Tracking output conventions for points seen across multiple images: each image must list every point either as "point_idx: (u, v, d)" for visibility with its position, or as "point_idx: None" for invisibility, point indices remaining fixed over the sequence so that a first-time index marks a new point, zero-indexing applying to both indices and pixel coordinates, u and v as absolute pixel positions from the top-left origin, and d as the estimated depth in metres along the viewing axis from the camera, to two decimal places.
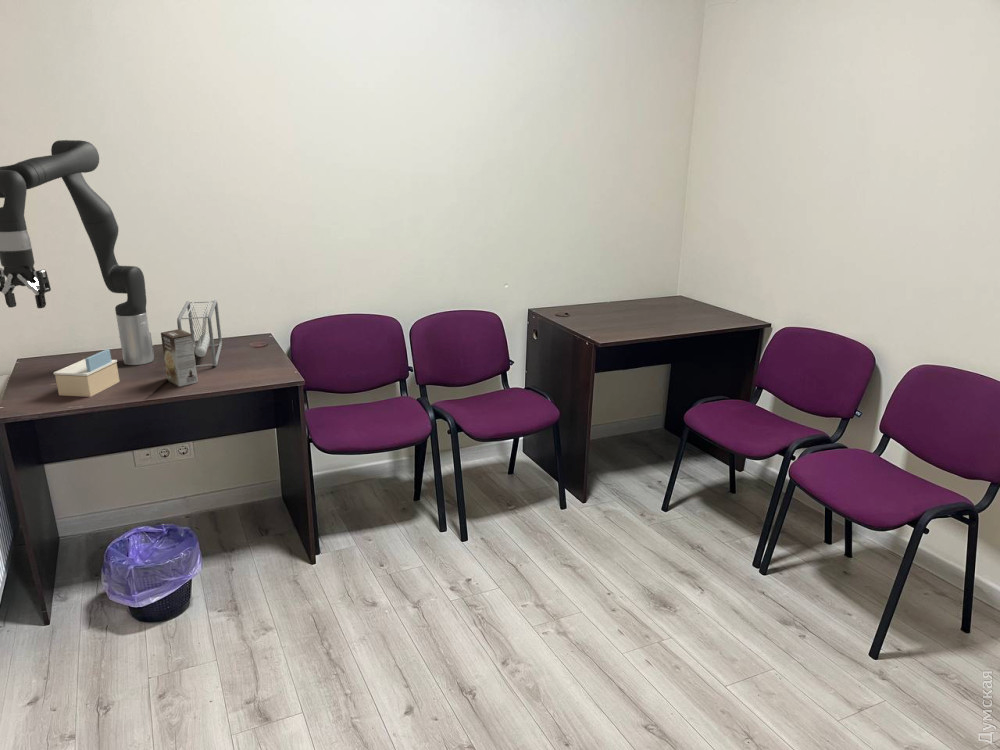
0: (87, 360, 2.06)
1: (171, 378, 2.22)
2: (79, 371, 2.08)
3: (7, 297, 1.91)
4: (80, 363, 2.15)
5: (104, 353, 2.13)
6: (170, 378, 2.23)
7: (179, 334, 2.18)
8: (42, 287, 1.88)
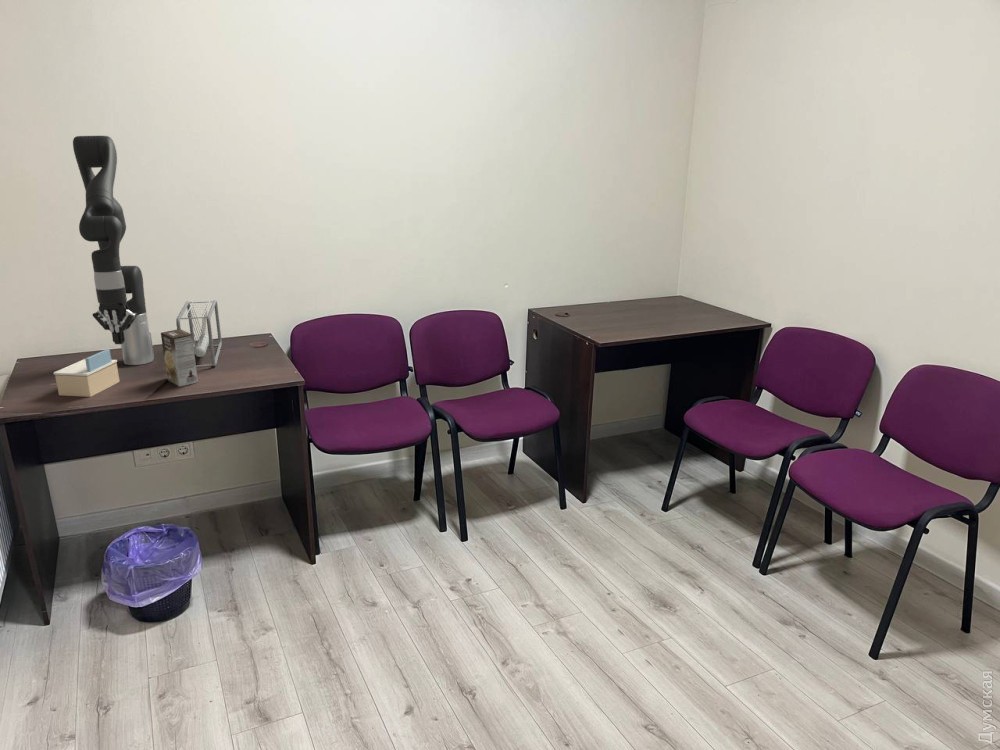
0: (87, 360, 2.06)
1: (171, 378, 2.22)
2: (79, 371, 2.08)
3: (114, 335, 2.07)
4: (80, 363, 2.15)
5: (104, 353, 2.13)
6: (170, 378, 2.23)
7: (179, 334, 2.18)
8: (124, 326, 2.06)
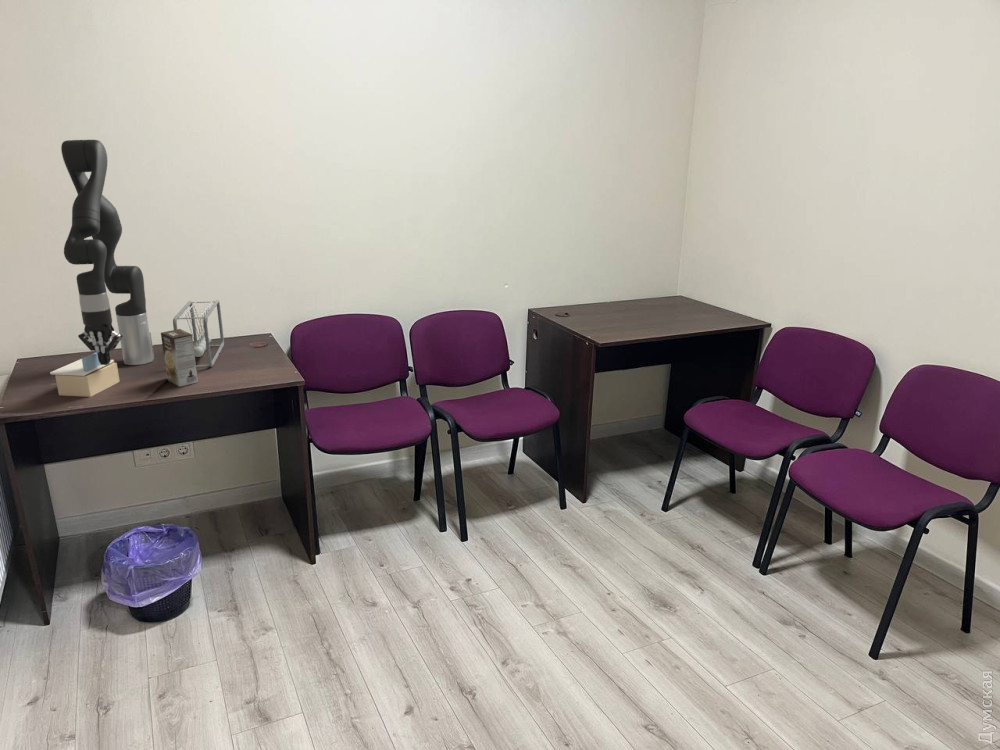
0: (84, 360, 2.07)
1: (171, 378, 2.22)
2: (76, 371, 2.08)
3: (100, 356, 2.10)
4: (77, 363, 2.15)
5: None
6: (170, 378, 2.23)
7: (179, 334, 2.18)
8: (110, 347, 2.09)
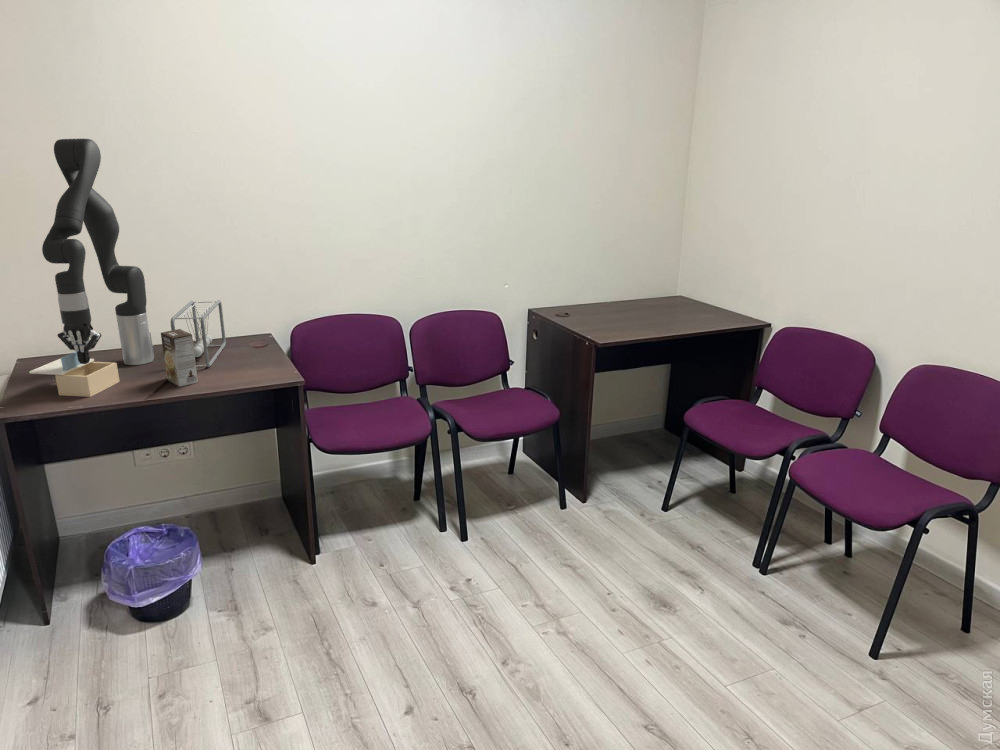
0: (63, 359, 2.07)
1: (171, 378, 2.22)
2: (55, 370, 2.08)
3: (79, 355, 2.11)
4: (57, 362, 2.16)
5: None
6: (170, 378, 2.23)
7: (179, 334, 2.18)
8: (89, 346, 2.09)
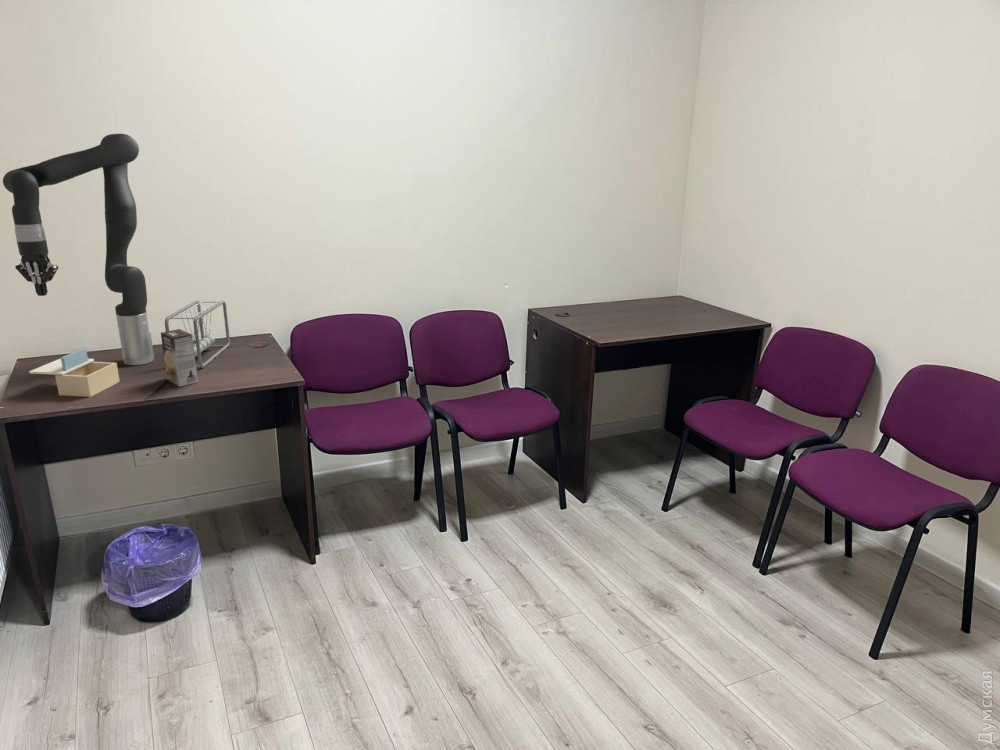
0: (63, 359, 2.07)
1: (171, 378, 2.22)
2: (55, 370, 2.08)
3: (37, 286, 2.16)
4: (57, 362, 2.16)
5: (80, 352, 2.14)
6: (170, 378, 2.23)
7: (179, 334, 2.18)
8: (46, 278, 2.15)
